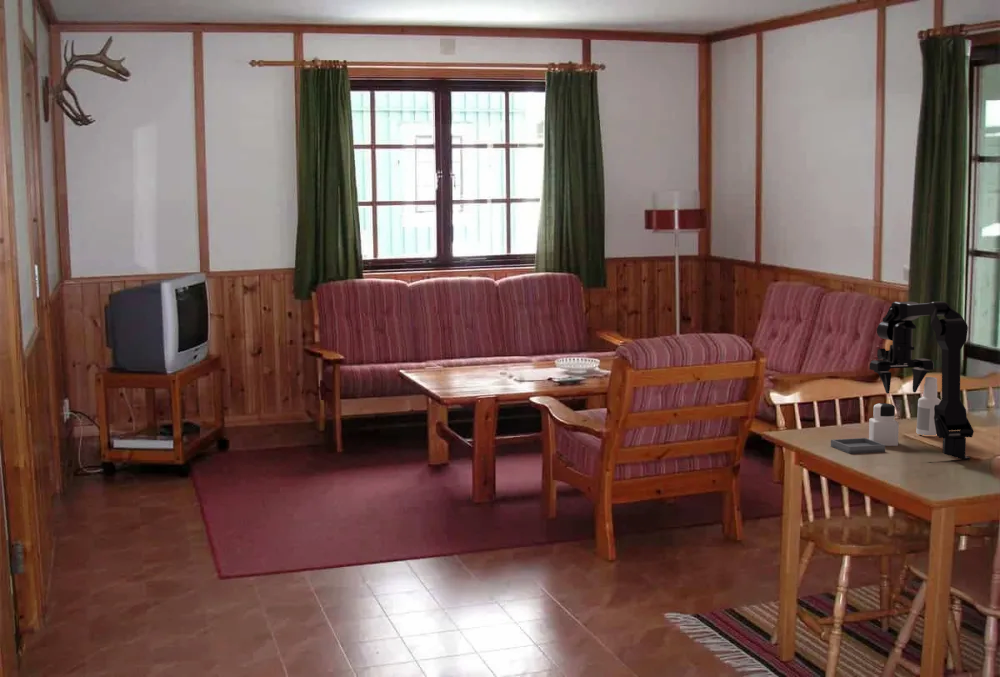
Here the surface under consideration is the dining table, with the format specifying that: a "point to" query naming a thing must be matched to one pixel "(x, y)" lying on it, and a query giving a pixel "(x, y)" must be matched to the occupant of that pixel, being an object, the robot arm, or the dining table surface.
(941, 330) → the robot arm
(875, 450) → the tray
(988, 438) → the dining table surface
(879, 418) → the medicine bottle
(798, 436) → the dining table surface
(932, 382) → the spray bottle
